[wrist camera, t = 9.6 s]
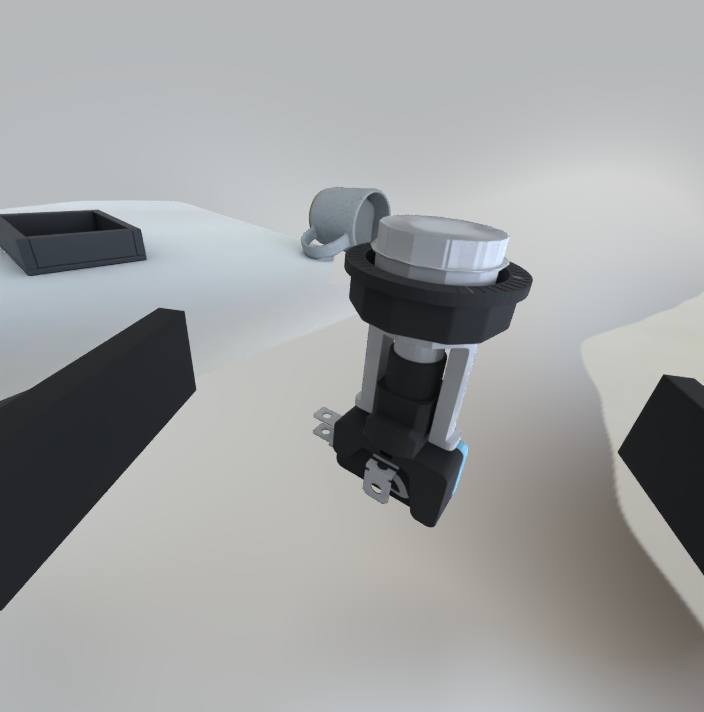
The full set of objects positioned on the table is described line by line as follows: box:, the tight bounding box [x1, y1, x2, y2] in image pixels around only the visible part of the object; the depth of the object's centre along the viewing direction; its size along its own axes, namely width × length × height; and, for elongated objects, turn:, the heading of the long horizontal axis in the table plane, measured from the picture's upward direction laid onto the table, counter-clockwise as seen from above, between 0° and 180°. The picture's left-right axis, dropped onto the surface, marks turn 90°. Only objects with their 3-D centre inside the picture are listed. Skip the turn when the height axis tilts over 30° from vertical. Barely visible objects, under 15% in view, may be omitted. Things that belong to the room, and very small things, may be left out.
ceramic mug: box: [301, 187, 391, 258], centre depth 45 cm, size 11×8×8 cm
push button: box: [313, 215, 533, 527], centre depth 13 cm, size 7×5×10 cm
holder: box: [0, 210, 146, 275], centre depth 37 cm, size 10×12×3 cm
